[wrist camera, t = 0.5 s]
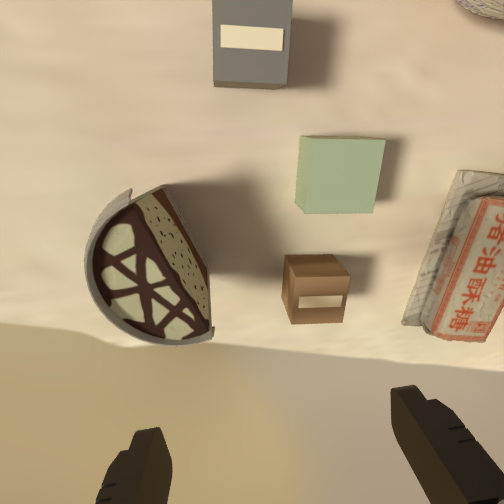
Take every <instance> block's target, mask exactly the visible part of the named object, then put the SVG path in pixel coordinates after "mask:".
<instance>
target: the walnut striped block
mask: <svg viewBox="0 0 504 504" xmlns="http://www.w3.org/2000/svg"><path fill="white" fill-rule="evenodd" d="M350 277H351V276H350V275H349V274H348V273H347V271H346V270H345V269H344V268H343V267H342V266H341V264H340V263H339V262H338V261H337V260H336V258H335V257H334V256H333V255H332V254H323V255H285V261H284V273H283V285H282V300H283V303H284V305H285V308H286V311H287V314H288V316H289V319H290V322H291V324H318V323H342V322H343V317H344V311H345V305H346V300H347V294H348V288H349V283H350Z"/></svg>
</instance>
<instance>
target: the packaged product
mask: <svg viewBox="0 0 504 504" xmlns="http://www.w3.org/2000/svg"><path fill="white" fill-rule="evenodd" d="M503 307H504V175H503V174H496V173H489V172H482V171H459V170H457V172H456V175H455V177H454V180H453V182H452V185H451V187H450V190H449V193H448V197H447V200H446V203H445V206H444V210H443V212H442V214H441V216H440V219H439V222H438V224H437V227H436V229H435V232H434V234H433V237H432V239H431V242H430V244H429V247H428V250H427V252H426V255H425V257H424V259H423V261H422V264H421V267H420V270H419V272H418V276H417V280H416V283H415V286H414V288H413V291H412V294H411V296H410V299H409V302H408V304H407V307H406V309H405V312H404V316H403V319H402V321H401V322H402V325H404V326H406V325H407V326H423V330H424V331H425V332H426V333H427V334H429V335H432V336H436V337H438V338H441V339H443V340H446V341H452V340H456V341H464V342H479V343H483V342H485V341H486V338H487V337H488V335H489V333H490V332H491V329H492V328H493V326H494V324H495V322H496V320H497V318H498V316H499V314H500V312H501V310H502V308H503Z"/></svg>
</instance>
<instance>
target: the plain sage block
mask: <svg viewBox="0 0 504 504" xmlns="http://www.w3.org/2000/svg"><path fill="white" fill-rule="evenodd" d="M385 142H386V140H383V139H375V138H368V137H334V136H300V141H299V154H298V167H297V180H296V192H295V203H296V205H297V206H298V207H299V208H300V209H301V210H302V211H303V212H304V213H305V214H352V213H373V209H374V203H375V198H376V192H377V187H378V181H379V176H380V170H381V164H382V159H383V153H384V148H385Z"/></svg>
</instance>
